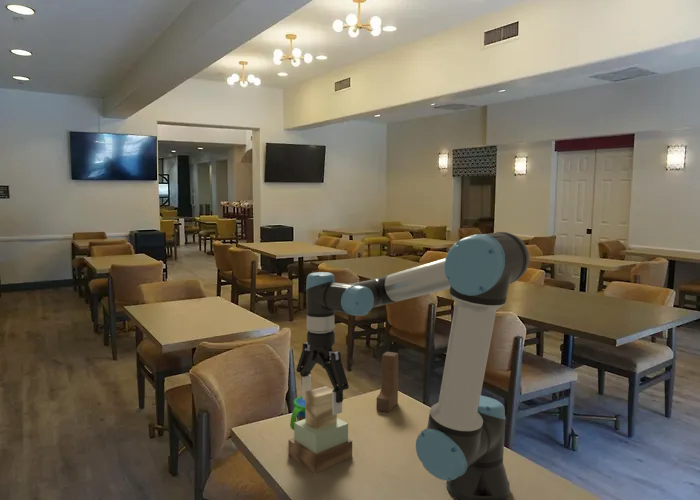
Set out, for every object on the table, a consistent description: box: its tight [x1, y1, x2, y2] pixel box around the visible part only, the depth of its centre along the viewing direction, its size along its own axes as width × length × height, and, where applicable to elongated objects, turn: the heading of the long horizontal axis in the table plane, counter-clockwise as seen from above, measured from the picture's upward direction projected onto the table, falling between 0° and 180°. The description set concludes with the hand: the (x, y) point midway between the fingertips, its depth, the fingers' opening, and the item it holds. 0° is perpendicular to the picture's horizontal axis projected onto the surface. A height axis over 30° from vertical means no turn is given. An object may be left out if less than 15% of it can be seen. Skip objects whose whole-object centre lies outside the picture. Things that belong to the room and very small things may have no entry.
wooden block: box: [375, 351, 399, 413], centre depth 178 cm, size 9×4×18 cm, turn 154°
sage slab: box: [293, 417, 349, 453], centre depth 145 cm, size 10×11×5 cm
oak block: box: [305, 385, 338, 429], centre depth 144 cm, size 5×7×9 cm
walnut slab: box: [288, 437, 353, 474], centre depth 145 cm, size 12×13×5 cm
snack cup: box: [289, 395, 306, 431], centre depth 158 cm, size 16×10×10 cm
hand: (321, 405), depth 144 cm, fingers open, 13 cm apart
